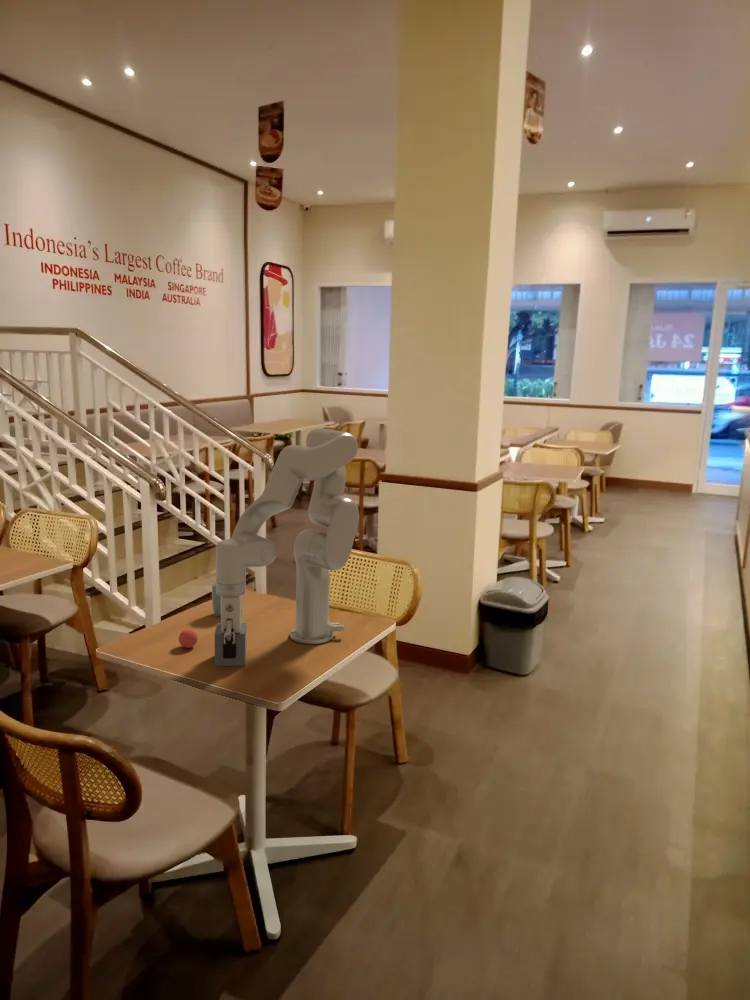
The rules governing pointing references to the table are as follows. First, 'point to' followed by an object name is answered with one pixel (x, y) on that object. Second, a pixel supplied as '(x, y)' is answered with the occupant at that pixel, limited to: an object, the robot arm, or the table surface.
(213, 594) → the cup
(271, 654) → the table surface
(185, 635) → the ball
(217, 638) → the matte gray cube
